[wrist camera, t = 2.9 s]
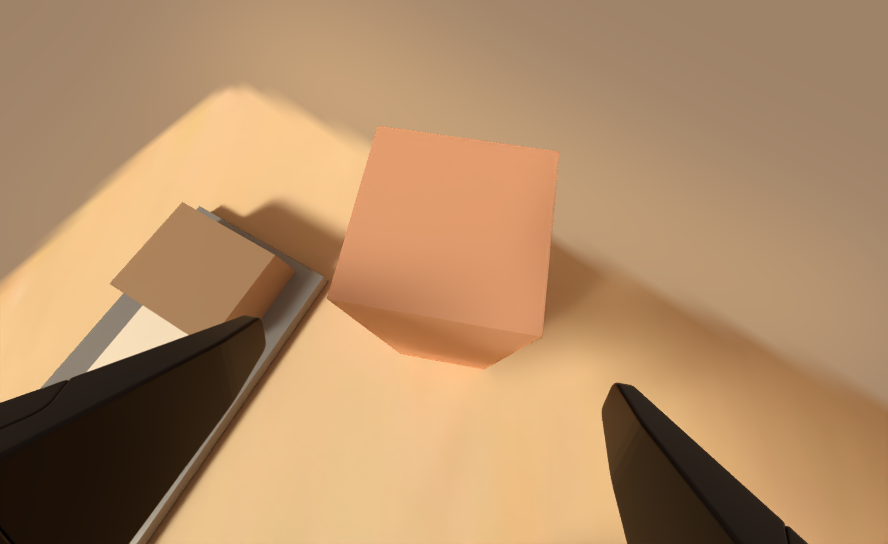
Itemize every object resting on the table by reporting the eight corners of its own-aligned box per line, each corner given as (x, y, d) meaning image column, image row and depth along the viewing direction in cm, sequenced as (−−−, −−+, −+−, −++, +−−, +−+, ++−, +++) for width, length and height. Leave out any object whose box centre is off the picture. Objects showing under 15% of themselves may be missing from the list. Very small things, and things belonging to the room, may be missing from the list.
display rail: (50, 682, 15) (-59, 761, 11) (-85, 554, 16) (-214, 593, 13) (328, 280, 20) (306, 260, 17) (208, 212, 22) (167, 182, 18)
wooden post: (483, 369, 18) (541, 336, 7) (400, 353, 19) (327, 298, 7) (495, 288, 20) (558, 151, 8) (417, 274, 20) (377, 126, 9)
